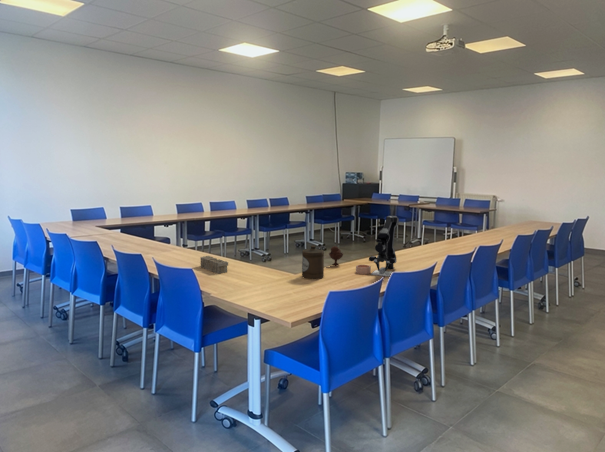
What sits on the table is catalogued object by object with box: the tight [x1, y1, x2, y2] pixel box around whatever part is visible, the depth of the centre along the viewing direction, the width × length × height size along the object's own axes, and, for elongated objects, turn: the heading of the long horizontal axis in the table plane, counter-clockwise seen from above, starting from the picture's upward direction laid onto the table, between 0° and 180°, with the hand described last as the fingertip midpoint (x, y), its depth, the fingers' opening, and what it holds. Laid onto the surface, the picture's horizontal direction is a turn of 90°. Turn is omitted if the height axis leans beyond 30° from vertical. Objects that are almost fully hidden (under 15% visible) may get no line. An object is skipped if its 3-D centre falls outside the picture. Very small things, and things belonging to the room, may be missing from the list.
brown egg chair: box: [328, 245, 344, 267], centre depth 331 cm, size 11×11×15 cm
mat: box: [369, 270, 391, 278], centre depth 306 cm, size 14×14×1 cm
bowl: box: [355, 264, 372, 275], centre depth 308 cm, size 10×10×5 cm
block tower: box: [199, 255, 229, 275], centre depth 311 cm, size 8×8×29 cm
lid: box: [371, 266, 393, 277], centre depth 305 cm, size 12×12×4 cm
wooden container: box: [301, 244, 325, 280], centre depth 293 cm, size 15×15×22 cm
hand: (382, 271), depth 305 cm, fingers open, 5 cm apart
